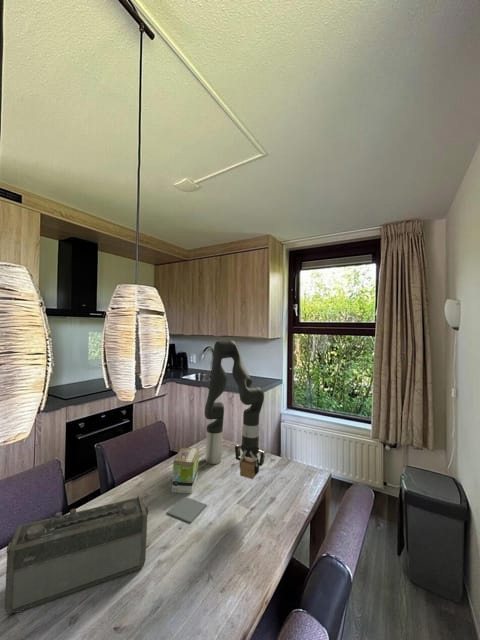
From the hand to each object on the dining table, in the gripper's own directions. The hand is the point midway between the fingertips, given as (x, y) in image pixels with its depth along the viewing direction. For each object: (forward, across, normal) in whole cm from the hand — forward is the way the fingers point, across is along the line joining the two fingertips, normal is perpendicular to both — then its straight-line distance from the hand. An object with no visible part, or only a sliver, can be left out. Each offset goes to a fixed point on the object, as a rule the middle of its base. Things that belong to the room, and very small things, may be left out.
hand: (249, 471), depth 122 cm
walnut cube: (+1, 0, 0) cm, 1 cm away
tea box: (+16, +34, -1) cm, 37 cm away
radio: (+15, +33, +54) cm, 65 cm away
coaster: (+15, +22, +14) cm, 30 cm away
